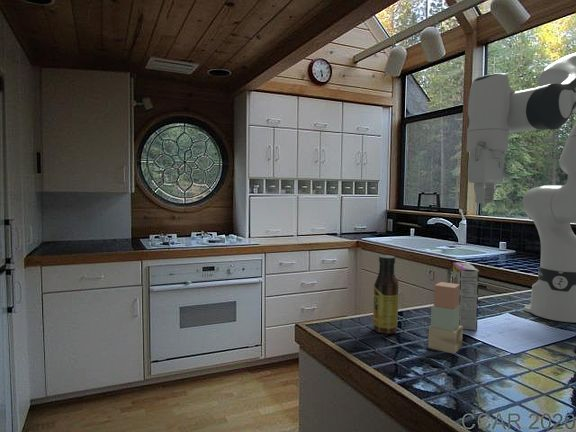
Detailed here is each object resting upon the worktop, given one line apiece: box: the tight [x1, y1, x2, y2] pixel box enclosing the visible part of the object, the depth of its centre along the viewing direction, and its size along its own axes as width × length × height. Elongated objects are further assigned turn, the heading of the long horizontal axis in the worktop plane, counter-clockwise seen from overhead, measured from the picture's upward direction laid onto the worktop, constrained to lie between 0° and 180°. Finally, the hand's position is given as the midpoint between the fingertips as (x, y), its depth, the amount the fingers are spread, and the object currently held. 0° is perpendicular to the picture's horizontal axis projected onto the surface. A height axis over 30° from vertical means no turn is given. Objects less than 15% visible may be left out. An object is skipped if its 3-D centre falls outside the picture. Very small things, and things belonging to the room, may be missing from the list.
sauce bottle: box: [372, 254, 399, 335], centre depth 111 cm, size 7×6×20 cm
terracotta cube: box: [433, 281, 460, 309], centre depth 100 cm, size 4×4×5 cm
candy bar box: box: [452, 261, 480, 331], centre depth 118 cm, size 11×5×16 cm, turn 168°
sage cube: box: [430, 304, 460, 331], centre depth 101 cm, size 5×5×5 cm
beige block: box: [427, 325, 464, 355], centre depth 101 cm, size 6×6×5 cm
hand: (484, 203), depth 101 cm, fingers open, 8 cm apart
